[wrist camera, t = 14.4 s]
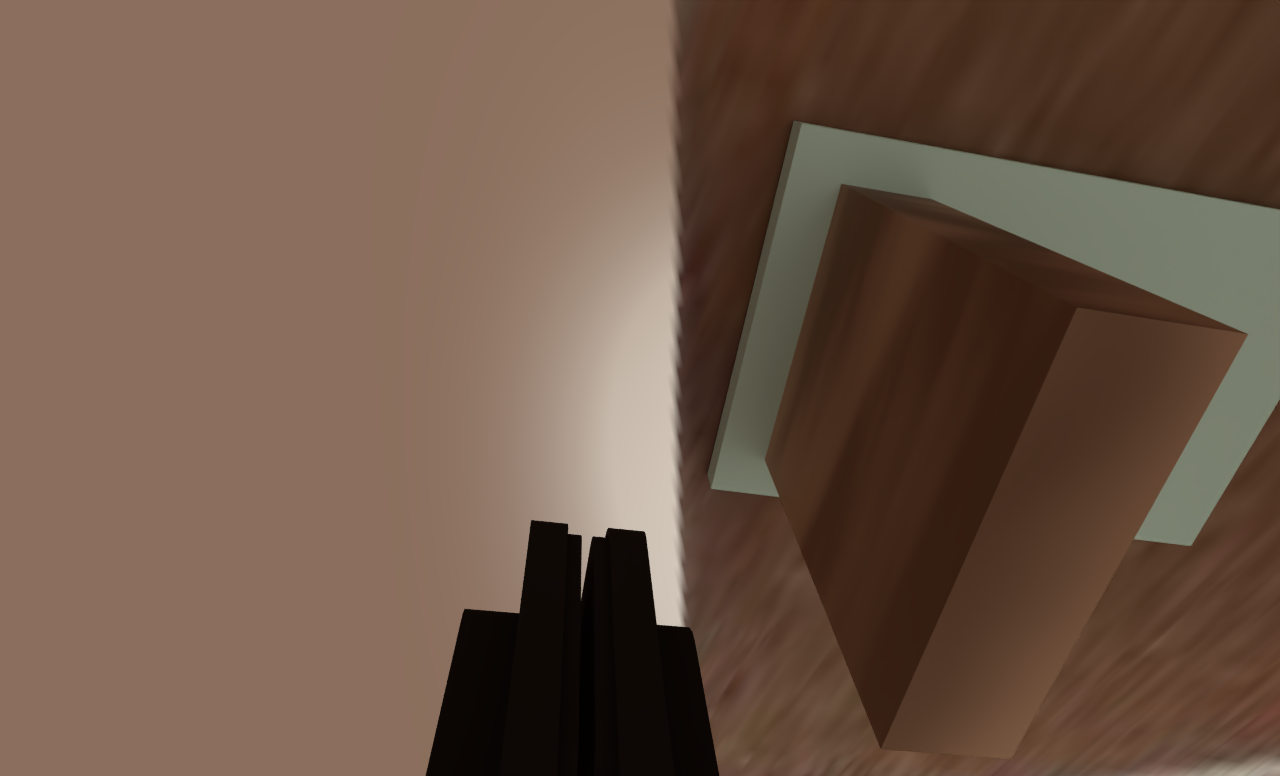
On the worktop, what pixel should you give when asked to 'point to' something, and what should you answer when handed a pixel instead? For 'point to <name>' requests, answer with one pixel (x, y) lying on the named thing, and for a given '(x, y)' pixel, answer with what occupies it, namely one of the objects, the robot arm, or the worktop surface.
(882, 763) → the worktop surface
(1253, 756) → the worktop surface
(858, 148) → the plate
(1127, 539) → the board
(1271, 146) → the worktop surface
